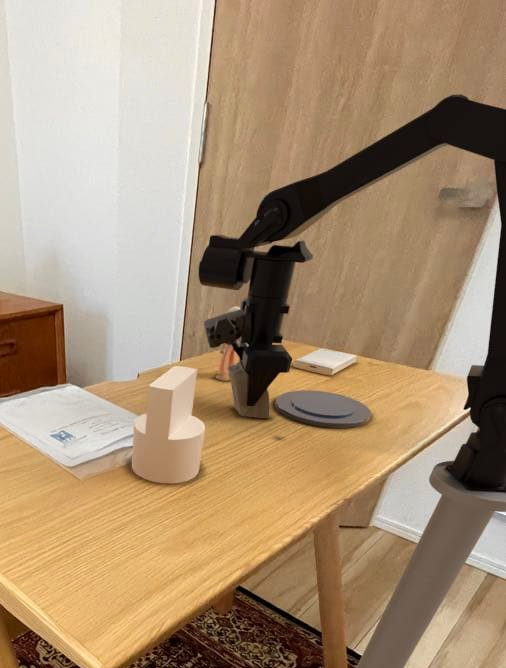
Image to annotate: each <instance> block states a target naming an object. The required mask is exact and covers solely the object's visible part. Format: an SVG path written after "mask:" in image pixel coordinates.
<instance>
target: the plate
mask: <svg viewBox="0 0 506 668" xmlns="http://www.w3.org/2000/svg"><path fill="white" fill-rule="evenodd" d="M274 407H275V409H276V410H277V412H278V413H279V414H281V415H283V416H284V417H286V418H288V419H290V420H293V421H296V422H298V423H301V424H305V425H309V426H314V427H319V428H327V429H350V428H351V429H352V428H357V427H360V426H363V425H365V424H366V423H368V422H369V420H370V419H371V414H372V413H371V409H370V408H369V407H368V406H367V405H366V404H364V403H362V402H361V401H359V400H357V399H354V398H352V397H349V396H347V395H344V394H343V395H342V394H339V393H334V392H329V391H324V390H312V389H311V390H309V389H308V390H307V389H302V390H301V389H300V390H291V391H286V392H283V393H282V394H279V395H278V396H277V397H276V399H275V403H274Z"/></svg>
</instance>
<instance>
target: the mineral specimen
mask: <svg viewBox="0 0 506 668" xmlns="http://www.w3.org/2000/svg"><path fill="white" fill-rule="evenodd" d="M241 362H242V361H241ZM227 369H228V372H229V376H230V380H229V381H230V385H231V391H232V399H233V404H234V409H235V411H237V413H238V414H239V416H241V417H246V418H256V419H270V418H271V410H270V409H271V406H270V392H269V387H268V388H267V389H266V391H265V392H264V393H263V395H262V396H261V397H260V399H259V400H258V401H257V403H256V404H255V405H254V406H247V376H248V374H247V373H246V372H245V371H244V370H243V368H242V366H241V364H240V362H239V361H237V364H236V365H232V366H229V367H228V368H227Z"/></svg>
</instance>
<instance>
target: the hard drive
mask: <svg viewBox="0 0 506 668" xmlns="http://www.w3.org/2000/svg"><path fill="white" fill-rule="evenodd" d="M357 359H358V356H357V355H356V354H352V353H347V352H342V351H338V350H332V349H327V348H319V349H317V350H315V351H313V352H310V353H307V354H306V355H303V356H301V357H299V358H297V359H295V360H294V361H293V364H292V366H293V367H294V368H296V369H300V370H304V371H309V372H313V373H318V374H321V375H325V376H333V375H335V374H336V373H338V372H340V371H342V370H343V369H345V368H348V367H349V366H351V365H353V364H355V363H356V362H357Z"/></svg>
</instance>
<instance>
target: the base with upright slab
mask: <svg viewBox="0 0 506 668" xmlns="http://www.w3.org/2000/svg"><path fill="white" fill-rule="evenodd" d="M197 375H198V369H197V368H193V367H187V366H181V365H174V366H173V367H171V368H170V369H168V370H167V371H166V372H165V373H163V374H161V376H159V377H158V378H156V379H155V380H154V381H153V382H151V383H150V384H149V385H148V389H147V402H146V405H147V406H146V413H143V414H140V415H138V416H137V417H136V418H134V421H133V435H132V454H131V469H132V472H133V473H134V474H136V475H137V476H139V477H140V478H141V479H144V480H147V481H149V482H152V483H153V482H154V483H158V484H181V483H185V482H187V481H190V480H192V479H194V478H195V477H196V476H197V475H198V473H199V471H200V465H201V459H202V451H203V445H204V439H205V430H206V426H205V423H204V422H203V421H202V419H200V418H198V417H197V416H194V415H193V414H192V413H193V406H194V399H195V393H196V383H197Z"/></svg>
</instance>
